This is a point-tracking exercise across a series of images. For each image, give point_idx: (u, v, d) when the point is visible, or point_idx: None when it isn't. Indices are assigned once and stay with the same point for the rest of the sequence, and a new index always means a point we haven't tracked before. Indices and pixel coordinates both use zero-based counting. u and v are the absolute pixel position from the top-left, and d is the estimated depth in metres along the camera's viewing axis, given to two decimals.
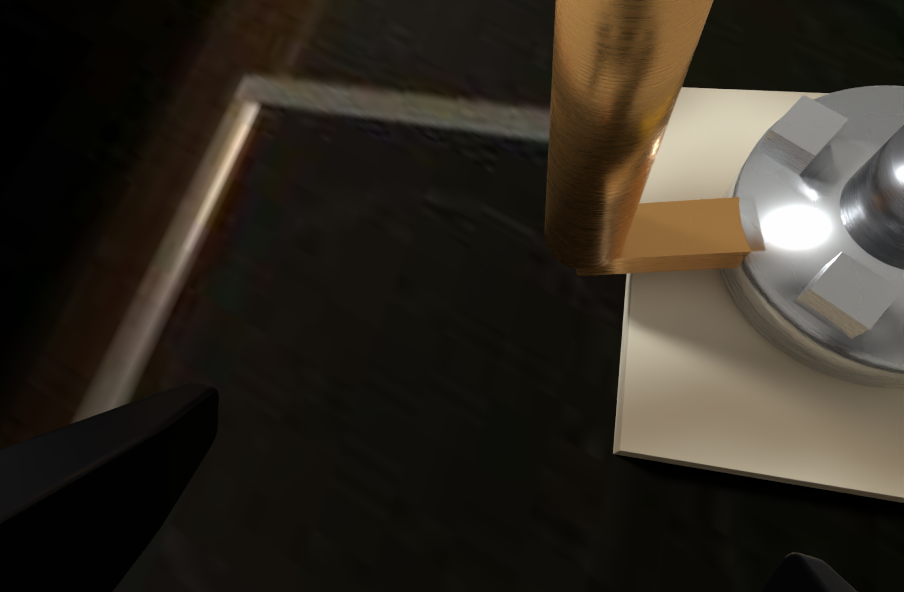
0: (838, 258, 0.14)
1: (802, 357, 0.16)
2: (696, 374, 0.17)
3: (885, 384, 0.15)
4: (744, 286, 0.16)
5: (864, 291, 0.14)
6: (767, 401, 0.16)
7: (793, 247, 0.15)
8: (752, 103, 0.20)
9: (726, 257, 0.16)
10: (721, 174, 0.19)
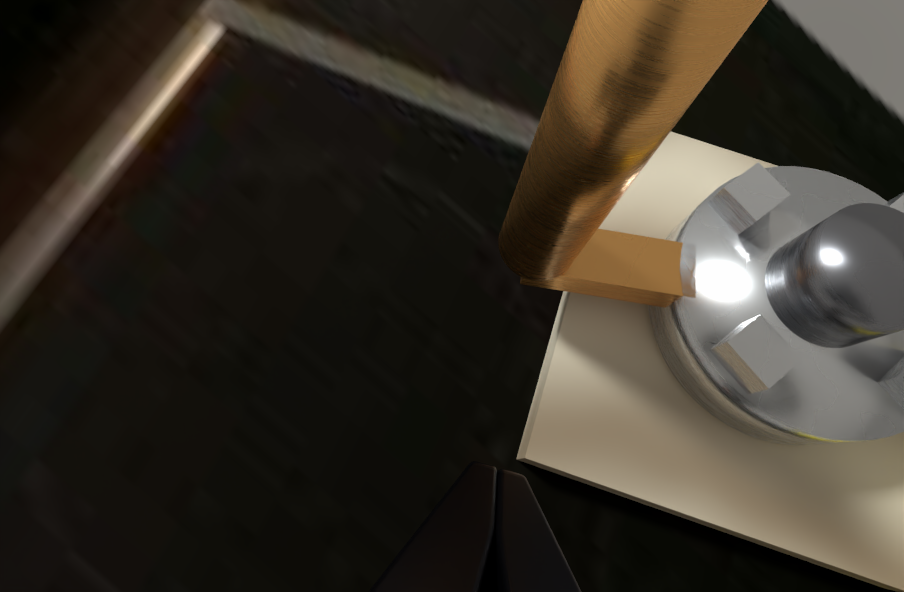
0: (756, 319, 0.15)
1: (703, 401, 0.17)
2: (608, 398, 0.18)
3: (767, 438, 0.17)
4: (668, 326, 0.17)
5: (771, 353, 0.15)
6: (665, 435, 0.18)
7: (719, 300, 0.16)
8: (708, 156, 0.21)
9: (659, 296, 0.17)
10: (668, 216, 0.20)
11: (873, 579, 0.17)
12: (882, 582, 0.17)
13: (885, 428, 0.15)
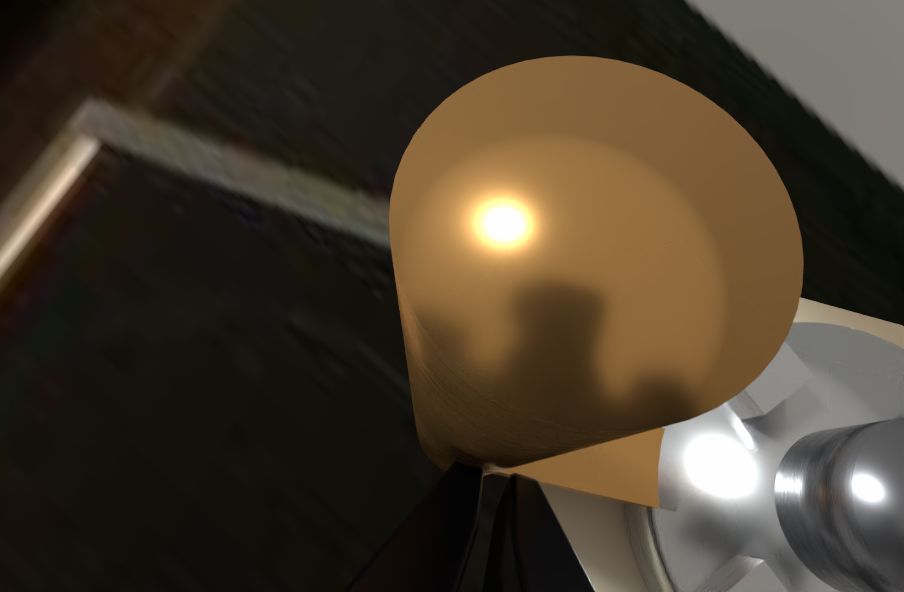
0: (757, 569, 0.11)
1: None
2: None
3: None
4: (642, 533, 0.13)
5: None
6: None
7: (710, 516, 0.12)
8: None
9: (629, 502, 0.12)
10: None
11: None
12: None
13: None
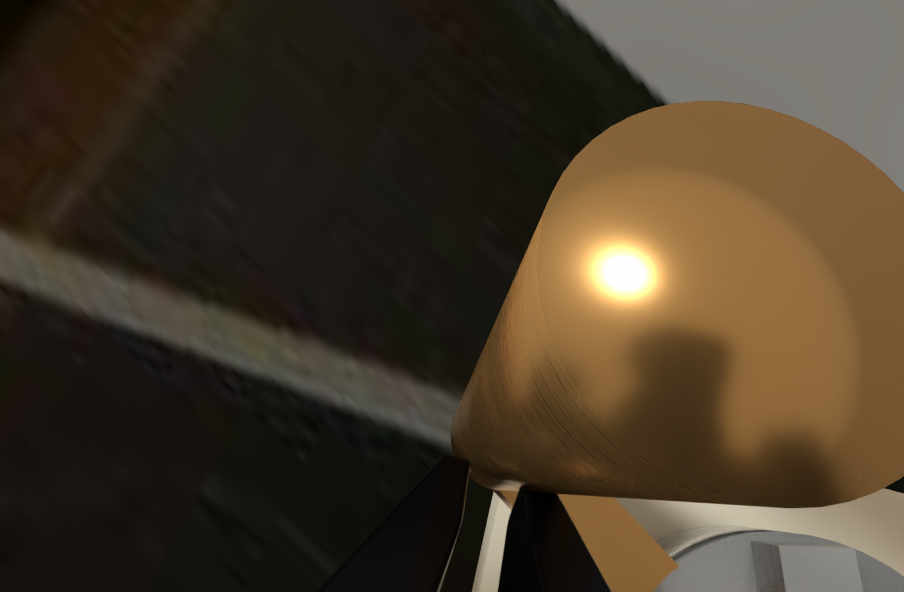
0: None
1: None
2: None
3: None
4: None
5: None
6: None
7: None
8: None
9: None
10: None
11: None
12: None
13: None
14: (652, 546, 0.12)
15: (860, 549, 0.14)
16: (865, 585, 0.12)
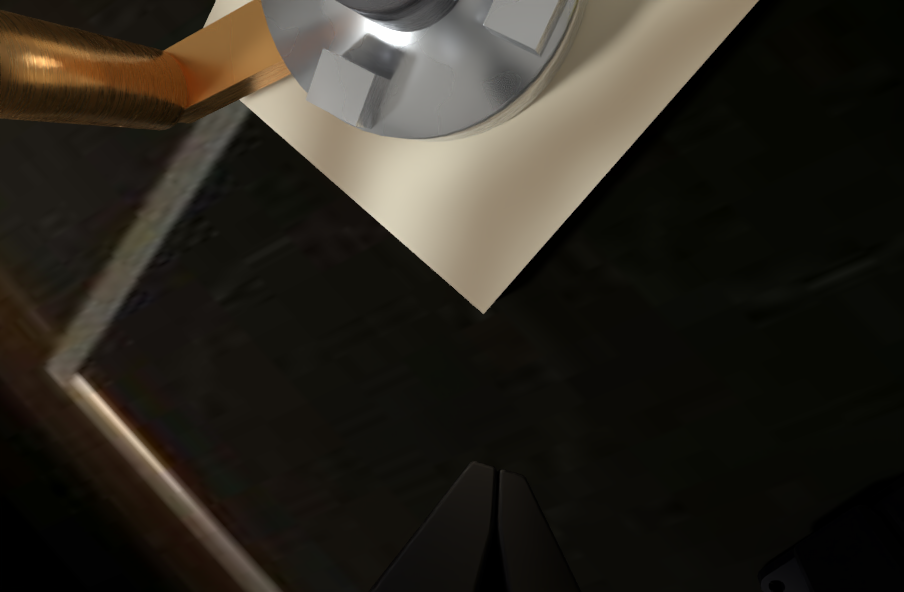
0: (320, 57, 0.14)
1: None
2: (461, 213, 0.18)
3: (459, 138, 0.16)
4: None
5: (346, 87, 0.14)
6: (514, 173, 0.17)
7: (314, 41, 0.15)
8: None
9: (274, 69, 0.16)
10: None
11: (749, 9, 0.14)
12: None
13: (510, 85, 0.14)
14: (244, 10, 0.15)
15: None
16: None
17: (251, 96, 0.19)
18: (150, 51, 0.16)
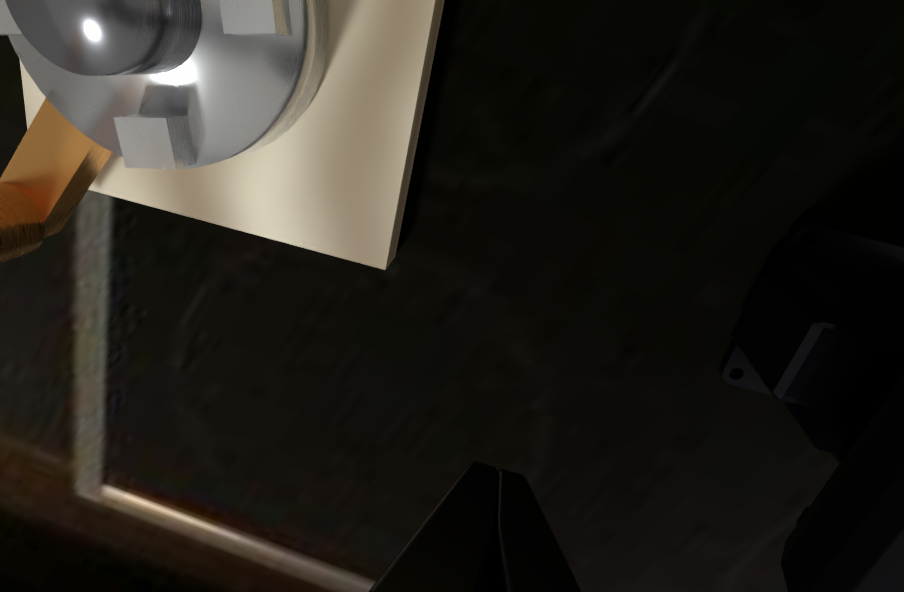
0: (115, 126, 0.15)
1: None
2: (321, 195, 0.19)
3: (280, 133, 0.18)
4: None
5: (150, 140, 0.15)
6: (344, 140, 0.18)
7: (110, 113, 0.16)
8: None
9: (94, 152, 0.17)
10: None
11: None
12: None
13: (282, 70, 0.15)
14: (41, 116, 0.16)
15: None
16: None
17: (101, 183, 0.20)
18: None
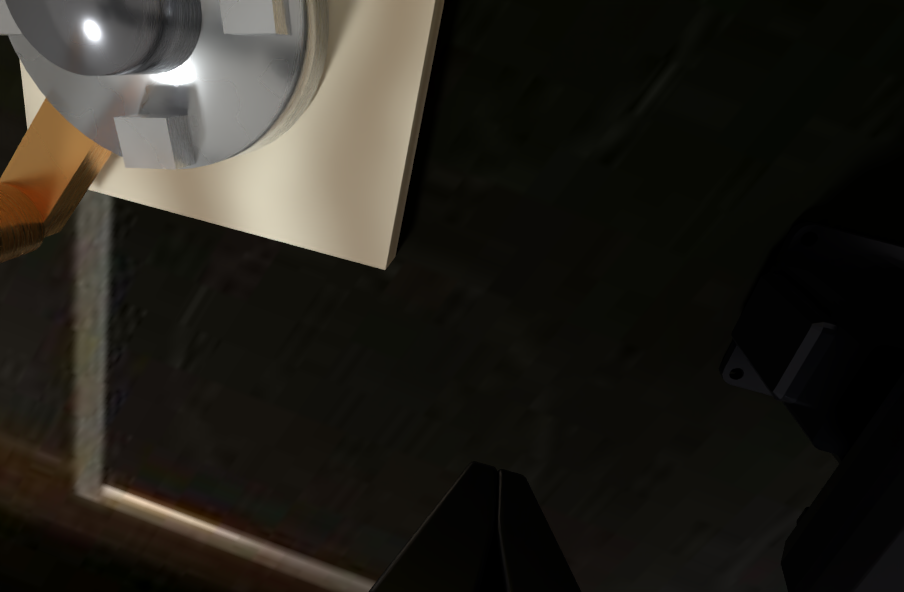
0: (115, 126, 0.15)
1: None
2: (321, 195, 0.19)
3: (280, 133, 0.18)
4: None
5: (150, 140, 0.15)
6: (344, 140, 0.18)
7: (110, 113, 0.16)
8: None
9: (94, 152, 0.17)
10: None
11: None
12: None
13: (282, 70, 0.15)
14: (41, 116, 0.16)
15: None
16: None
17: (101, 183, 0.20)
18: None
